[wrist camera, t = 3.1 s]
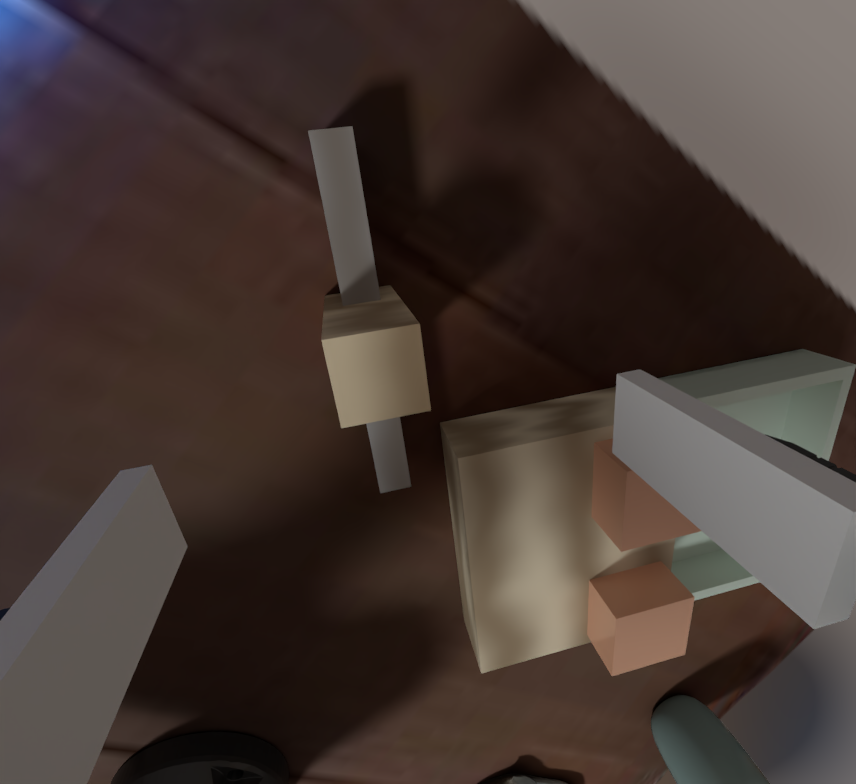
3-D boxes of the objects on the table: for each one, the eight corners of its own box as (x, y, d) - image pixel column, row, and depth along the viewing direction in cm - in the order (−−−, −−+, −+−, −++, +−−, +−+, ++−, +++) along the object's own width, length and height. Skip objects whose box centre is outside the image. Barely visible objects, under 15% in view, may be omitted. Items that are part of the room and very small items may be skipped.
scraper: (360, 463, 31) (372, 566, 22) (292, 144, 23) (268, 104, 14) (415, 452, 32) (449, 548, 23) (367, 136, 24) (389, 92, 15)
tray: (627, 576, 42) (656, 611, 38) (644, 380, 34) (682, 401, 30) (757, 541, 44) (796, 571, 40) (802, 348, 36) (856, 364, 32)
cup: (677, 675, 50) (754, 779, 41) (711, 695, 53) (790, 796, 44) (627, 718, 51) (691, 829, 42) (663, 736, 54) (730, 842, 45)
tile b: (591, 516, 31) (621, 551, 28) (594, 442, 29) (627, 471, 25) (668, 497, 32) (706, 529, 29) (677, 424, 29) (719, 450, 26)
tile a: (587, 634, 36) (612, 676, 33) (589, 580, 33) (616, 618, 30) (654, 615, 37) (684, 654, 33) (660, 561, 34) (694, 597, 31)
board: (464, 620, 39) (481, 673, 35) (439, 422, 31) (458, 458, 27) (627, 576, 42) (664, 621, 37) (644, 380, 34) (693, 407, 29)
